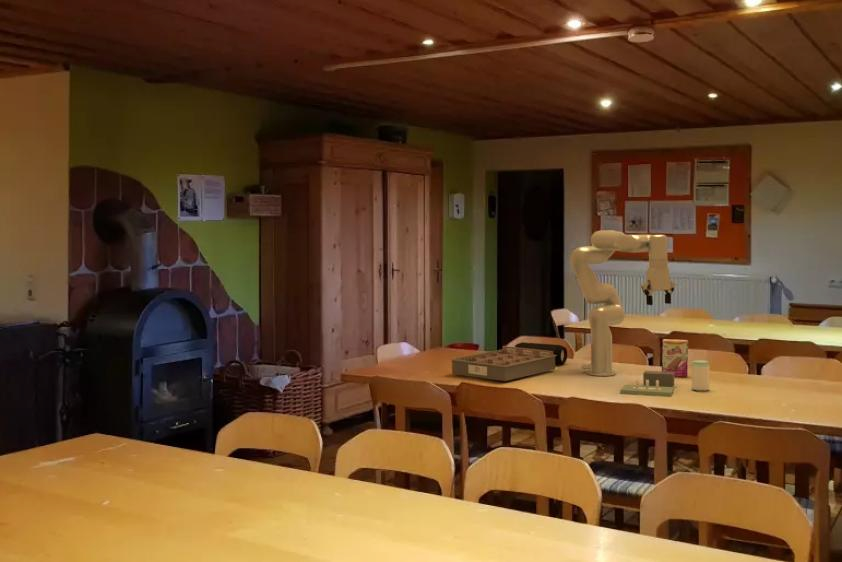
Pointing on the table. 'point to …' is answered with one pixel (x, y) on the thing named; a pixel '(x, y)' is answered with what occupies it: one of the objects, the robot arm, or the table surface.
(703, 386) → the can
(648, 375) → the plug housing
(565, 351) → the portable speaker
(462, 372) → the organizer tray
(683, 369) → the candy bar box
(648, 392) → the pin board
